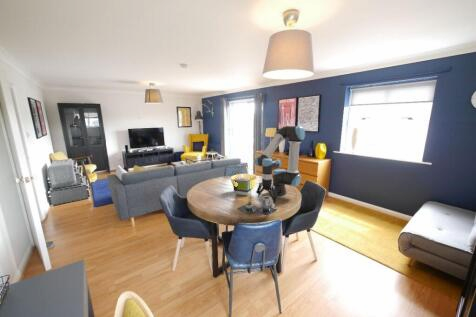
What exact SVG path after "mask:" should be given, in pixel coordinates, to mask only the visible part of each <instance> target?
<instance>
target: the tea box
mask: <svg viewBox="0 0 476 317" xmlns="http://www.w3.org/2000/svg"><path fill="white" fill-rule="evenodd" d="M232 180H233V181H235V182H237V183H238V186H237V187H235V186H234V185H233V194H234V195H241V196H247V197H248V196H249V195H250V194H251V193H252V188H251V189H250V181H251V182H252V178H251V177H250V178H249V177H240V176H236V177H235V178H234V179H232Z"/></svg>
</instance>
